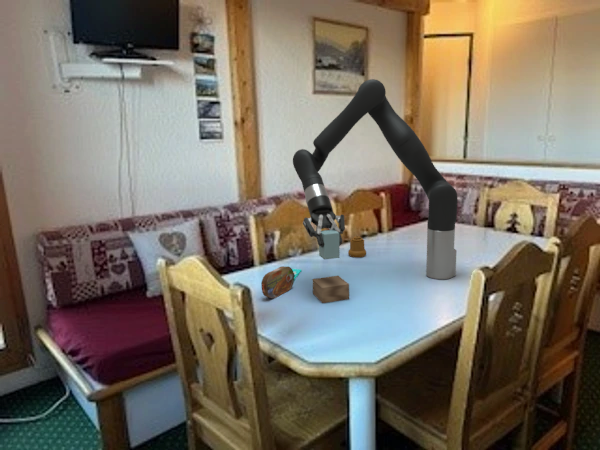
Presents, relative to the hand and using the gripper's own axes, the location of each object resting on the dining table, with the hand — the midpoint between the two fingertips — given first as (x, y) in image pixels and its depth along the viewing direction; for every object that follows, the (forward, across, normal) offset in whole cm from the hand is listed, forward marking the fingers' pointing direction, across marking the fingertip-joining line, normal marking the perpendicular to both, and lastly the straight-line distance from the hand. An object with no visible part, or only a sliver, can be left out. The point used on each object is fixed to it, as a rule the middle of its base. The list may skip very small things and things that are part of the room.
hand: (331, 245), depth 147 cm
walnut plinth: (+11, 0, +13) cm, 17 cm away
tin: (+5, -15, +20) cm, 25 cm away
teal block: (+2, 0, +4) cm, 5 cm away
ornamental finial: (-16, +27, +41) cm, 52 cm away
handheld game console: (-5, -9, +31) cm, 33 cm away
